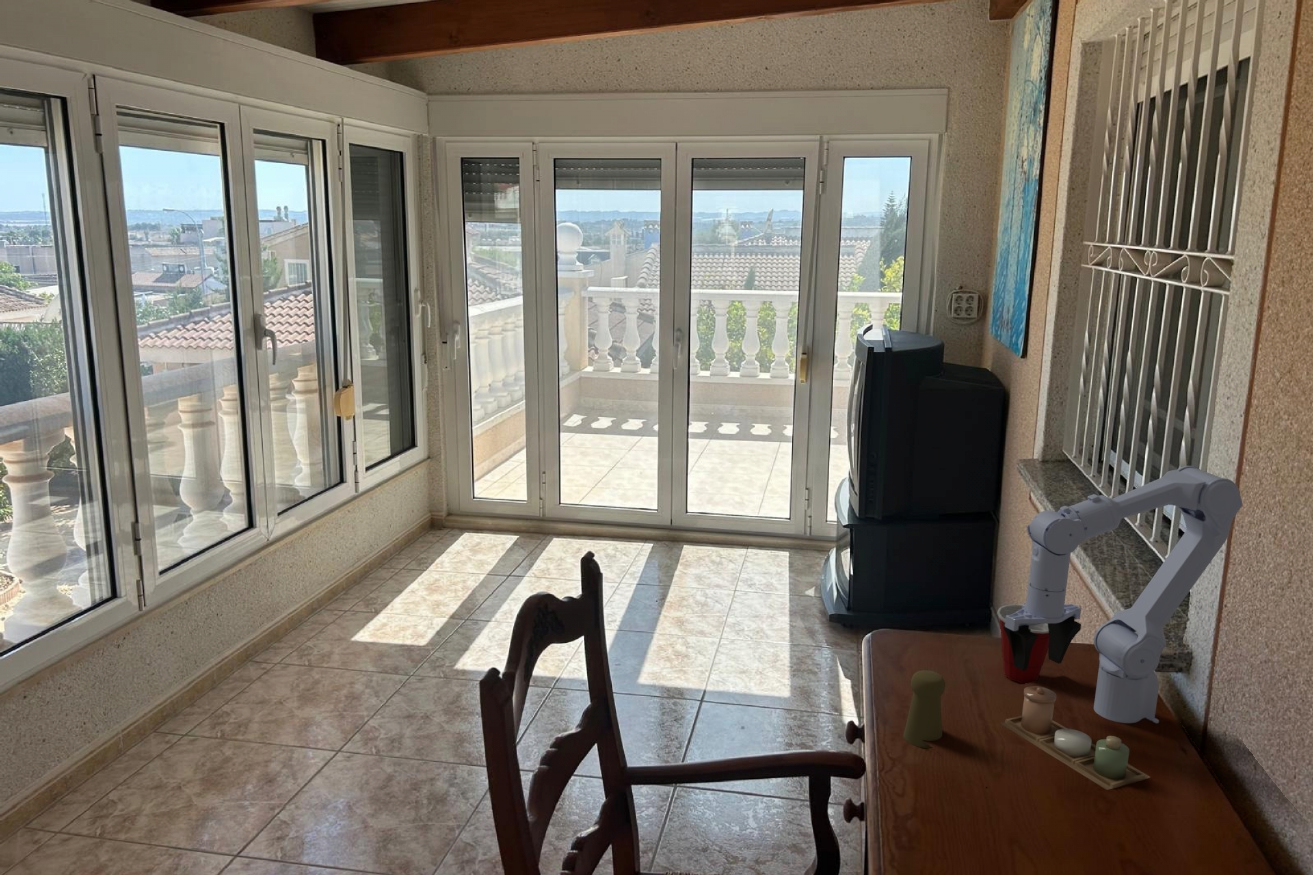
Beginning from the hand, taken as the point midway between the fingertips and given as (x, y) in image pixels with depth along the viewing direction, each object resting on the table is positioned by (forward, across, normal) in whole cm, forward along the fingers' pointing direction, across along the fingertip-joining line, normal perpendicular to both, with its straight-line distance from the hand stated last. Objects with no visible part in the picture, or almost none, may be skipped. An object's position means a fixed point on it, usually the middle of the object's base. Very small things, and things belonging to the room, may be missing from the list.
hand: (1037, 664), depth 161 cm
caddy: (+10, +3, +11) cm, 15 cm away
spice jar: (+9, +3, +4) cm, 10 cm away
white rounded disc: (+9, +3, +11) cm, 14 cm away
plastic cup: (+10, -11, -13) cm, 20 cm away
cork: (+10, +21, -2) cm, 23 cm away
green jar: (+9, +3, +18) cm, 20 cm away
